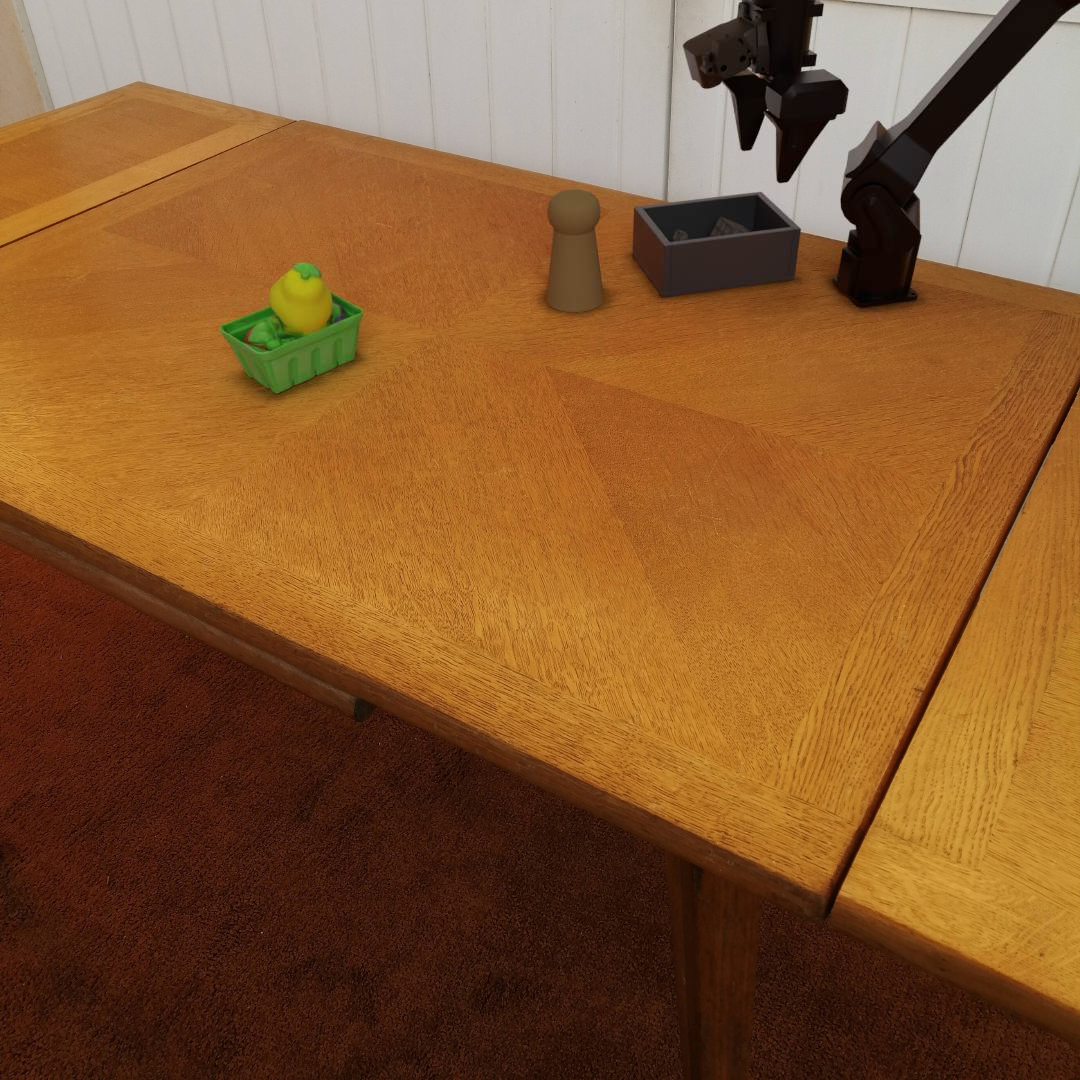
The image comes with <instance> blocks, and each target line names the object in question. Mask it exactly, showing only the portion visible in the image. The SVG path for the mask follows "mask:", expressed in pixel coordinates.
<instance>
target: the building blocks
mask: <svg viewBox="0 0 1080 1080" xmlns="http://www.w3.org/2000/svg"><path fill="white" fill-rule="evenodd" d="M747 232H750V231H749V230H747V229H746V228H745V227H744V226H743V225H740V224H738V223H735V222H733V221H730V220H728V219H725V218H723V217H719V219H718V221H717V223H716V225H715V227H714V229H713V231H712V232H711V234H710V236H709V237H715V236H723V235H731V234H739V233H747ZM687 238H688V235H687V234H686V233H685V232H684V231H681V230H678V229H676V231H675V233H674V235H673V237H672V239H673V240H674V241H683V240H687Z"/></svg>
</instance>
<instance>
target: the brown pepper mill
mask: <svg viewBox="0 0 1080 1080" xmlns="http://www.w3.org/2000/svg"><path fill="white" fill-rule="evenodd" d="M600 218H601V204H600V200H599V199H598V198H597V196H596V195H595V194H594V193H592V192H590V191H588V190H585V189H579V188H575V189H574V188H573V189H564V190H562V191H559V192H557V193H555V194H554V195H553V196H552V197H551V198H550V199H549V202H548V206H547V219H548V222H549V224H550V225H551V227H552V229H553V231H552V242H551V249H550V250H551V251H550V259H549V269H548V277H547V278H548V279H547V286H546V287H547V288H546V297H545V302H546V303H547V305H548V306H549V307H551V308H552V309H554V310H557V311H559V312H566V313H582V312H588V311H591V310H594V309H596V308H598V307H600V306H601V305H602V304H603V302H604V300H605V296H604V289H603V280H602V271H601V265H600V256H599V249H598V242H597V234H596V227H597V225H598V224H599V222H600V220H601V219H600Z"/></svg>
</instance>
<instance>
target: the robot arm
mask: <svg viewBox="0 0 1080 1080" xmlns="http://www.w3.org/2000/svg"><path fill="white" fill-rule="evenodd" d="M1078 5H1080V0H1008V1H1007V2H1005V4H1004V5H1003V6H1002V8H1001V9H1000V10H999V11H998V12H997V13H996V14H995V16H993V17H992V19H991V20H990V21H989V22H988V23H987V24H986V26H985V27H984V28H983V29H982V30H981V31H980V33H978V35H977V36H976V37H975V39H973V40H972V41H971V43H970V44H969V45H968V46H967V47H966V49H965V50H964V51H963V52H962V53H961V54H960V55H959V57H958V58H957V59H956V60H955V61H954V62H953V64H952V65H951V66H950V67H949V68H948V69H947V70H946V71H945V72H944V74H943V75H942V76H941V77H940V78H939V80H937V82H936V83H935V84H934V85H933V86H932V87H931V88H930V89H929V91H928V92H927V93H926V94H925V95H924V96H923V97H922V99H921V100H920V101H919V102H918V103H917V105H916V106H915V107H914V108H913V109H912V110H911V111H910V113H908V114H907V116H905V117H904V118H903V119H902V120H900V121H898V122H896V123H895V124H894V125H892V126H891V127H889V128H886V127H885V125H883V123H881V121H880V120H875V122H874V123H873V124H872V126H871V128H870V129H869V130H868V132H867V134H866V135H865V137H864V139H862V141H861V142H860V143H859V144H858V145H856V146H855V147H854V148H852V149H850V150H849V151H848V153H847V160H846V166H845V168H844V169H845V170H844V172H843V178H842V185H841V192H840V198H839V201H840V210H841V212H842V214H843V217H844V218H845V219H846V220H847V221H848V223H850V224H851V225H853V226H855V228H854V229H849V232H848V236H847V243H846V245H844V246H843V247H842V249H841V255H840V261H839V266H838V270H837V271H838V272H837V275H834V276H833V277H832V282H833V284H834V285H836V286H837V288H839V289H840V291H842V292H843V293H844V294H845V296H847V297H848V299H850V300H851V301H852V303H854V304H855V305H856V306H858V307H860V308H867V307H875V306H883V305H888V304H889V305H890V304H895V303H896V304H897V303H903V302H910V301H916V300H918V297H919V293H918V292H917V291H915V289H913V288H912V287H911V286H912V282H913V278H914V273H915V269H916V264H917V260H918V255H919V251H920V247H921V242H922V238H923V235H922V234H921V199H920V197H919V196H918V195H917V194H916V193H915V190H916V189H917V187H918V185H919V184H920V183H921V180H922V179H923V177H924V175H925V173H926V171H927V169H928V168H929V165H930V164H931V162H932V160H933V158H934V156H935V155H936V154H937V152H938V150H939V149H940V148H941V147H942V146H943V145H944V144H945V143H946V142H947V141H948V140H949V139H950V137H952V135H954V133H955V132H956V131H957V130H958V129H959V128H960V127H961V126H962V124H963V123H964V122H965V121H966V120H967V119H968V118H969V117H970V116H971V115H972V114H973V113H974V111H975V110H976V109H977V108H978V107H979V106H980V105H981V104H982V103H983V102H984V101H985V100H986V98H988V97H989V96H990V94H992V92H993V91H994V90H995V89H996V88H997V87H998V86H999V84H1000V83H1002V82H1003V80H1004V79H1005V78H1006V77H1007V76H1008V75H1009V74H1010V73H1011V72H1012V71H1013V70H1014V68H1015V67H1017V65H1018V64H1019V63H1020V62H1021V61H1022V60H1023V59H1024V57H1025V56H1026V55H1028V53H1029V52H1030V51H1031V50H1032V49H1033V48H1034V47H1035V46H1036V45H1037V43H1038V42H1039V41H1040V40H1041V39H1042V38H1043V37H1044V36H1045V35H1046V34H1047V33H1048V32H1049V31H1050V30H1051V28H1052V27H1054V25H1055V24H1056V23H1057V22H1058V21H1059V20H1060V19H1061V17H1063V16H1064V15H1065V14H1066V13H1068V12H1069V11H1071V10H1072V9H1074V8H1075V7H1077V6H1078ZM824 6H825V3H824V2H822V1H820V0H741V1H739V2H738V5H737V15H736V17H735V18H733V19H731V20H728V21H726V22H723V23H719V24H717V25H716V26H713V27H711V28H708V29H707V30H705V31H704V32H701V33H700V34H698V35H695V36H693V37H692V38H689V39H687V40H686V41H685V42H683V44H682V48H683V52H684V55H685V60H686V63H687V67H688V70H689V74H690V78H691V80H692V81H695V82H696V83H698V84H699V86H700V87H701V88H703V89H704V90H709V89H713V88H716V87H718V86H720V85H721V84H723V86H724V87H725V88H726V89H727V90H728V91H729V93H730V99H731V103H732V108H733V114H734V119H735V124H736V131H737V137H738V141H739V142H738V143H739V149H740V150H741V151H742V152H749V151H752V150H753V148H754V145H755V143H756V140H757V139H758V136H759V134H760V130H761V128H762V124H763V123H764V119H765V117H766V118H767V119H768V120H769V122H770V123H772V125H773V126H774V127H775V173H776V174H775V178H776V182H777V183H778V184H785V183H789V181H790V180H791V179H792V177H793V176H794V174H795V173H796V171H797V169H799V166H800V164H801V163H802V162H803V160H804V158H805V157H806V155H807V153H808V152H809V150H811V147H812V146H813V144H814V143H815V141H816V140H817V138H818V137H819V136H820V135H821V133H822V132H823V130H824V129H825V128H826V127H827V125H828V124H829V122H830V121H834V120H836V119H837V117H838V116H839V115H843V114H845V113H846V111H847V104H848V99H849V92H850V89H849V88H848V86H847V85H846V84H845V82H844V81H843V80H842V79H841V78H840V77H838V76H836V75H834V74H833V73H831V72H829V71H828V70H827V69H825V68H820V69H819V68H818V69H809V70H802V68H809V67H811V68H812V67H816V65H817V57H818V54H817V53H816V52H814V51H813V50H812V49H810V44H811V38H812V31H813V22H814V18H819V17H820V18H821V17H823V13H824Z"/></svg>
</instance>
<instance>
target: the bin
mask: <svg viewBox="0 0 1080 1080" xmlns="http://www.w3.org/2000/svg"><path fill="white" fill-rule="evenodd" d="M719 217H723V218H725V219H728V220H730V221H733V222H735V223H738V224H740V225H743V226H744V227H745V228H746V229H747V230H749V231H750V232H747V233H739V234H731V235H723V236H715V237H709V236H710V234H711V232H712V231H713V229H714V227H715V225H716V223H717V221H718V219H719ZM676 229H678V230H681V231H684V232H685V233H686V234H687V235H688V238H687V240H683V241H674V240H673V239H672V237H673V235H674V233H675V231H676ZM801 234H802V228H801V227H800V226H799V225H798V224H797V223H795V222H794V221H793V220H792V218H790V217H789V215H788V214H786V213H785V212H784V211H783V210H782V209H781V208H780V207H778V205H776V204H775V203H774V202H773V201H772V200H771V199H770V198H769V197H768V196H767V195H765V194H764V192H762V191H755V192H747V193H738V194H729V195H720V196H713V197H705V198H697V199H688V200H679V201H672V202H671V201H669V202H662V203H654V204H653V203H652V204H647V205H638V206H633V226H632V257H633V258H634V260H635V261H636V263H637V264H638V265H639V267H640V268H641V270H642V272H643V273H644V274H645V276H646V277H647V279H648V280H649V281H650V282H651V284H652V285H653V287H654V288H655V290H656V291H657V292H658V294H659V295H660V297H661V298H669V297H676V296H682V295H692V294H698V293H705V292H712V291H721V290H729V289H735V288H743V287H744V288H745V287H749V286H750V287H751V286H758V285H765V284H773V283H780V282H788V281H794V280H795V276H796V275H795V274H796V269H797V262H798V254H799V248H800V247H799V246H800V239H801Z"/></svg>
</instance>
